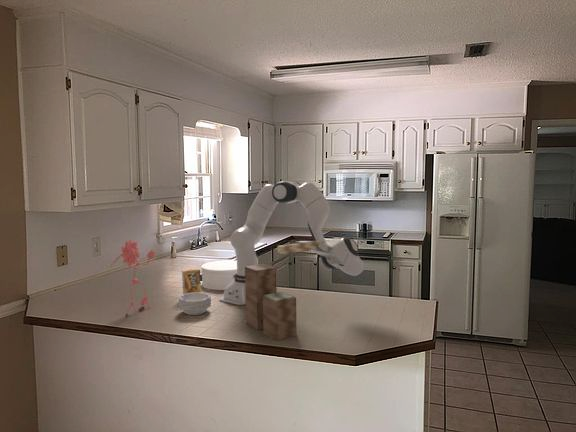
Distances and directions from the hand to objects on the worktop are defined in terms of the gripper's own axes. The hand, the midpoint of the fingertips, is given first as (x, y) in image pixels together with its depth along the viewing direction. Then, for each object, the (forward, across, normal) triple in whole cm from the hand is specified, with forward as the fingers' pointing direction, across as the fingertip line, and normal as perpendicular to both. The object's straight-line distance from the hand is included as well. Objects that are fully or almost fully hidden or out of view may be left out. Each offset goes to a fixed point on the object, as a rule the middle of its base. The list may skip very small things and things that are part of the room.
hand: (315, 244), depth 204 cm
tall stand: (-2, -15, +41) cm, 43 cm away
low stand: (-2, 0, +41) cm, 41 cm away
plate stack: (-19, -89, +32) cm, 97 cm away
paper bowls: (+12, -49, +50) cm, 71 cm away
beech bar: (+5, 0, +5) cm, 7 cm away
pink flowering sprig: (+33, -71, +62) cm, 99 cm away
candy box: (+5, -72, +46) cm, 86 cm away
